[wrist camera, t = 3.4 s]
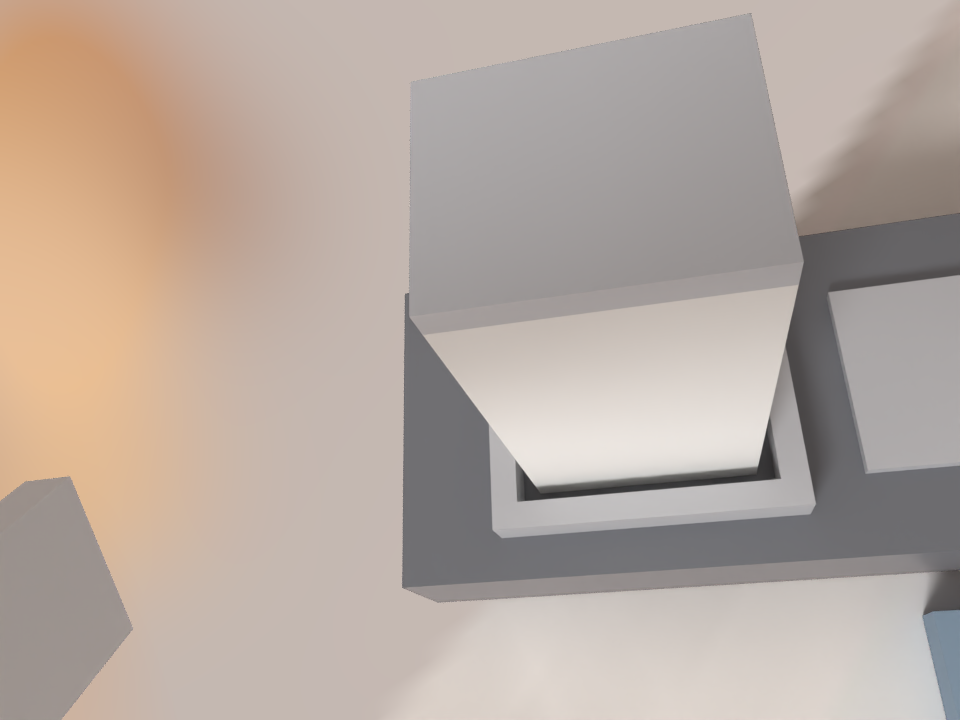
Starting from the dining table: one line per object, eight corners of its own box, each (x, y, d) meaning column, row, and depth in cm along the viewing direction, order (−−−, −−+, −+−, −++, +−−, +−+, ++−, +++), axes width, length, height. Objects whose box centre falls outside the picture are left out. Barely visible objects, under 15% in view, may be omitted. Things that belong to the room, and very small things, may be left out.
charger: (730, 317, 20) (750, 12, 12) (755, 474, 19) (803, 262, 10) (531, 343, 22) (410, 82, 13) (540, 493, 20) (409, 316, 11)
